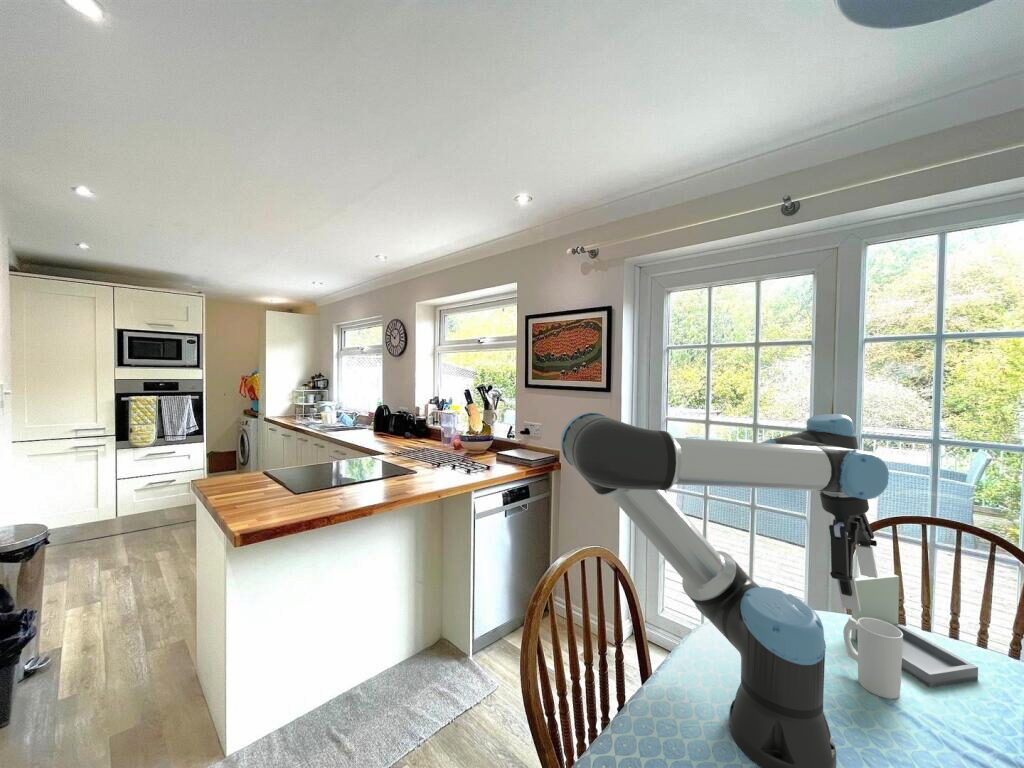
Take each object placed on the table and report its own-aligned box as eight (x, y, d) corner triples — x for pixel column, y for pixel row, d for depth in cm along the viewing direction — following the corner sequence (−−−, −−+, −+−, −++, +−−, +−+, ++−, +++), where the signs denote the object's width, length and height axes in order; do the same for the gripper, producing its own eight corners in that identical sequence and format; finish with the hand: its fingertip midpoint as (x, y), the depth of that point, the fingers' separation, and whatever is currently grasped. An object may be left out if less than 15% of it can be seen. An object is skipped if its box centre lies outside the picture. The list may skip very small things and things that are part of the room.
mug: (910, 696, 81) (912, 634, 81) (886, 704, 79) (887, 640, 79) (855, 662, 91) (856, 606, 90) (831, 668, 89) (832, 611, 88)
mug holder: (929, 687, 83) (931, 617, 83) (851, 637, 99) (852, 578, 99) (977, 679, 85) (979, 611, 85) (893, 632, 101) (894, 574, 101)
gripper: (847, 517, 75) (868, 631, 75) (880, 472, 90) (898, 567, 91) (798, 511, 81) (819, 617, 81) (837, 470, 96) (854, 559, 97)
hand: (860, 591), depth 86 cm, fingers open, 13 cm apart
